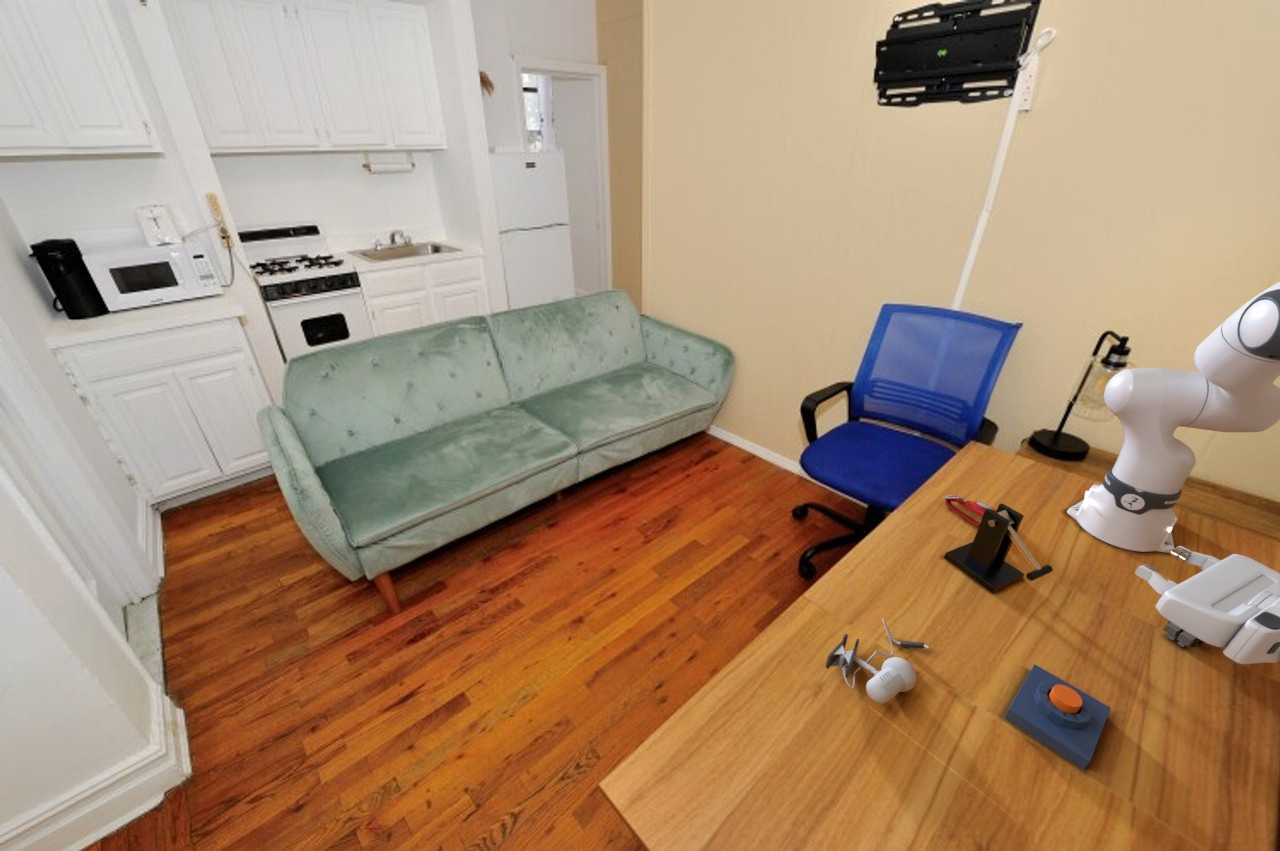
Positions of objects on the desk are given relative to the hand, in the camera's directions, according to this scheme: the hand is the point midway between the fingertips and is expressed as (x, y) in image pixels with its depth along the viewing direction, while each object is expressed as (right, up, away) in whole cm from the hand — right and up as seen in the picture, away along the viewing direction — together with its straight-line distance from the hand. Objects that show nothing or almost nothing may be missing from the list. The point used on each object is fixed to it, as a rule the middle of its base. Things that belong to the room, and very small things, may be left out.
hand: (1156, 559), depth 78 cm
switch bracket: (-8, -9, +28) cm, 31 cm away
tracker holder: (0, -1, +44) cm, 44 cm away
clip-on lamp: (-40, -21, +8) cm, 46 cm away
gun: (+23, -17, +14) cm, 32 cm away
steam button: (-16, -21, -2) cm, 27 cm away
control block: (-16, -25, 0) cm, 29 cm away
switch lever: (-7, -3, +21) cm, 22 cm away
